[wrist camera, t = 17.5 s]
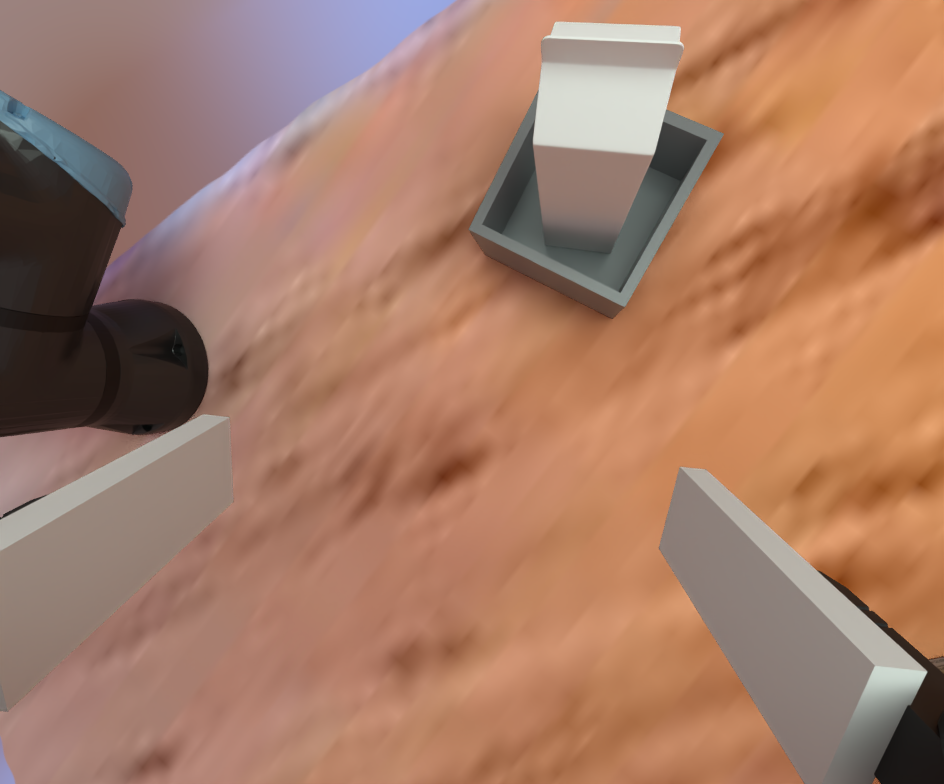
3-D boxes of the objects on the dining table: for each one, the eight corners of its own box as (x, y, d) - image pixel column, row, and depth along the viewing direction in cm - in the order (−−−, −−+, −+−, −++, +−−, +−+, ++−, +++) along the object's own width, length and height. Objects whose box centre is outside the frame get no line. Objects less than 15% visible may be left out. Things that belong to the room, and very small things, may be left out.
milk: (610, 254, 40) (672, 123, 18) (543, 245, 41) (526, 112, 19) (624, 185, 39) (705, -36, 17) (556, 178, 40) (553, -38, 19)
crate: (485, 254, 43) (468, 229, 35) (554, 120, 41) (552, 61, 33) (612, 318, 41) (624, 307, 33) (690, 180, 39) (723, 133, 31)
